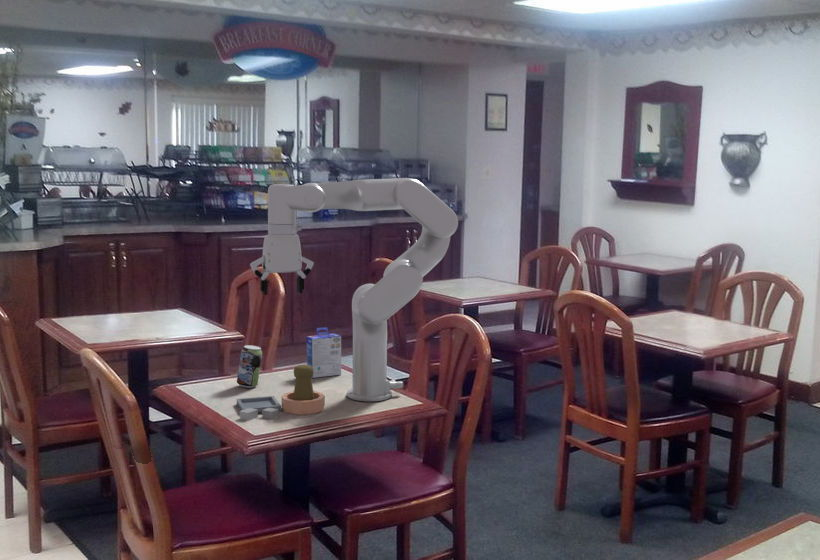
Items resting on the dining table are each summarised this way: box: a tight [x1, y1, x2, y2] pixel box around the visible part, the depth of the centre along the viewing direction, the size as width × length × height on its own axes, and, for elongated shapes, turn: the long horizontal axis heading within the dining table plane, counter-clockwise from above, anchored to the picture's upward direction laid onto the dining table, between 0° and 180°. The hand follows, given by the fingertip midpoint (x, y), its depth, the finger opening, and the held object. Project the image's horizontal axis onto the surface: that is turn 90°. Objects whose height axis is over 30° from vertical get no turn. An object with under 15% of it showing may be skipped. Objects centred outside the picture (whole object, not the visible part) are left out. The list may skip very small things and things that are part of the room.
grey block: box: [261, 408, 280, 420], centre depth 223 cm, size 3×3×2 cm
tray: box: [236, 395, 282, 414], centre depth 230 cm, size 10×10×2 cm
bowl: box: [280, 390, 326, 416], centre depth 229 cm, size 11×11×4 cm
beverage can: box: [236, 344, 263, 389], centre depth 250 cm, size 6×7×12 cm
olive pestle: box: [293, 364, 314, 401], centre depth 229 cm, size 6×6×11 cm
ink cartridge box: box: [305, 326, 342, 379], centre depth 265 cm, size 10×6×14 cm, turn 119°
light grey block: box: [239, 408, 259, 421], centre depth 221 cm, size 4×3×2 cm
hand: (282, 293), depth 235 cm, fingers open, 9 cm apart
